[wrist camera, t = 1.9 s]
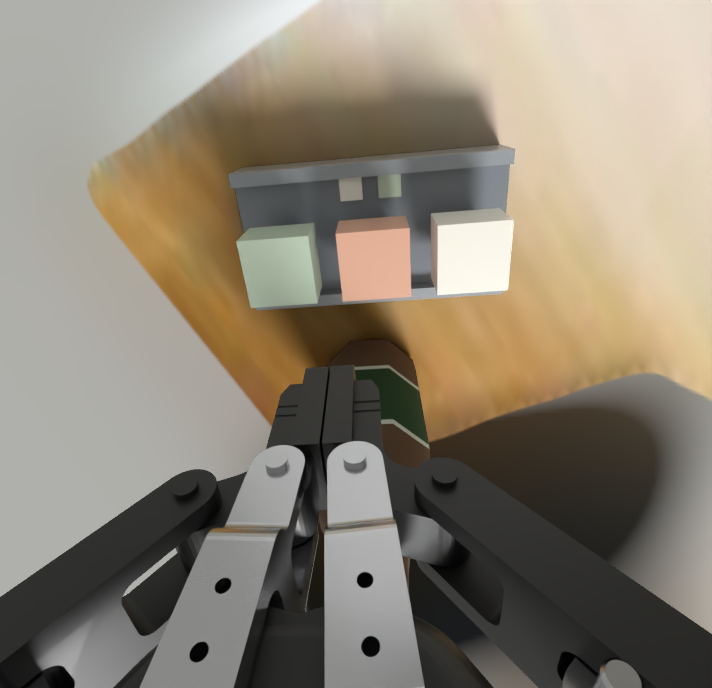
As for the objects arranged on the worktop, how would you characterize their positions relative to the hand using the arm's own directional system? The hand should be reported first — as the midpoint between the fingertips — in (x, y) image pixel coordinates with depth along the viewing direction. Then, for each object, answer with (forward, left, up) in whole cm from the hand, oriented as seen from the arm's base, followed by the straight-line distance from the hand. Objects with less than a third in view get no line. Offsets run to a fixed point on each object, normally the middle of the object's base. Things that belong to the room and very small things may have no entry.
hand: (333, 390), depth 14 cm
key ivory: (-7, 0, -15) cm, 17 cm away
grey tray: (-1, 0, -20) cm, 20 cm away
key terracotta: (-1, 0, -15) cm, 15 cm away
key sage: (+4, 0, -15) cm, 16 cm away
